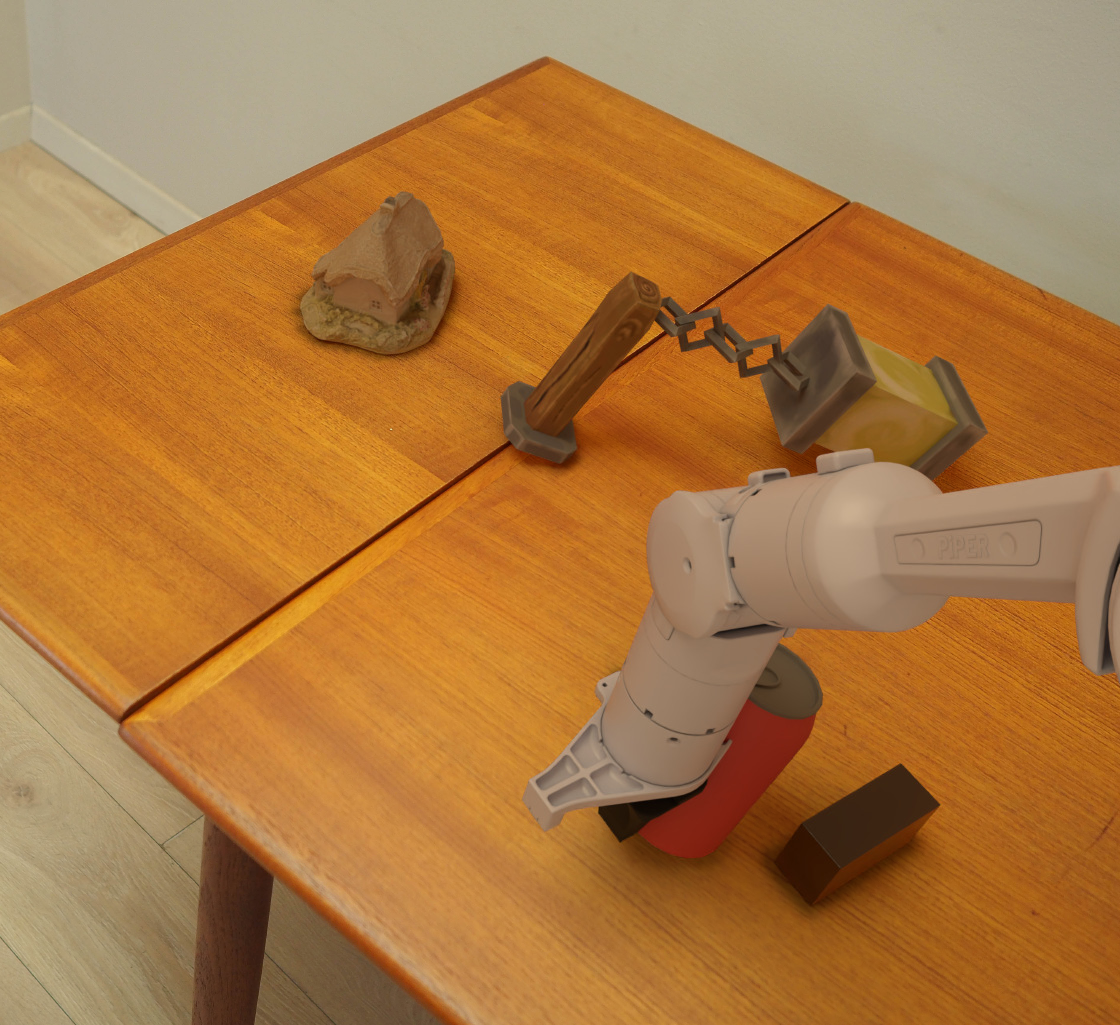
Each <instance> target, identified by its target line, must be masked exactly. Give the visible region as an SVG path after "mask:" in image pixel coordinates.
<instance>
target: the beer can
mask: <svg viewBox="0 0 1120 1025" xmlns="http://www.w3.org/2000/svg"><path fill="white" fill-rule="evenodd" d="M823 700H824V693H823V690H822V687H821V684H820V681H819V679H818V677H817V676H816V674H815V673H814V672H813V670H812V668H811V667H810V665H808V664H807V663H806V662H805V661H804V660H803V659H802V657H800V656H799V655H798V654H797V653H795V652H794V651H792V650H791V649H790V648H788V647H787V646H786V645H784V644H782V643H780V642H779V643H778V645H777V647H776V649H775V650H774V652H773V654H772V656H771V658H770V659H769V661H768V663H767V665H766V667H765V669H764V670H763V672H762V674H761V676H760V677H759V679H758V681H757V683H756V684H755V686H754V688H753V690H752V692H751V693H750V695H749V697H748V699H747V700H746V702H745V704H744V706H743V708H742V709H741V711H740V713H739V715H738V717H737V718H736V720H735V722H734V724H733V726H732V727H731V729H730V731H729V732H728V734H727V736H726V738H725V740H724V741H723V743H726V742H728V740H729V739H731V740H732V744H731V745H730V747H729V749H728V750H727V752H726V753H725V754H724V756H723V757H722V759H721V760H720V761H719V763H718V764H717V766H716V767H715V768H714V770H713V771H712V773H711V774H710V775H709V777H708V782H707V785H706V787H705V788H704V790H703V792H702V793H700V794H698V795H697V796H695V797H693V798H691V799H690V800H688V801H686V802H684V803H682V804H681V805H679V806H677V807H675V808H674V809H672V810H670V811H668V812H666V813H665V814H663V815H661V816H659V817H657V818H655V819H653V820H651V821H649V822H648V823H647V824H646V825H645V826H644V827H643V828H642V829H641V830H639V831H638V832H637V833H636V834H637V835H638V836H640V837H641V838H642V839H643V840H645V841H646V842H647V843H648V844H650V846H652V847H654V848H656V849H657V850H660V851H661V852H663V853H665V854H667V855H669V856H670V855H671V856H673V857H679V858H682V859H700V858H701V859H702V858H704V857H706V856H708V855H711V854H712V853H714V852H716V851H717V850H718V848H719V847H720V846H721V845H722V843H723V842H725V840H726V839H727V838H728V836H729V835H730V834H731V833H732V832H733V830H734V829H735V828H736V827H737V826H738V824H739V823H740V822H741V821H743V820H742V819H744V817H745V816H746V815H747V814H748V813H749V811H750V810H751V809H752V808H753V807H754V806H755V804H756V803H757V802H758V801H759V800H760V798H761V797H762V796H763V794H764V793H765V792H766V791H767V790H768V789H769V788H770V787H771V785H772V784H773V783H774V781H775V780H776V779H777V778H778V777H779V776H780V774H781V773H782V772H783V771H784V770H785V768H786V767H787V766H788V765H789V764H790V763H791V761H792V760H793V759H794V758H795V756H796V755H797V754H798V753H799V752H800V750H801V749H802V748H803V747H804V745H805V744H806V743H807V741H808V739H809V738H810V736H811V733H812V732H813V729H814V726H815V721H816V717H817V713H818V712H819V710H820V709H821V708H822V706H823V702H824V701H823Z"/></svg>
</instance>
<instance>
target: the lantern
mask: <svg viewBox="0 0 1120 1025" xmlns="http://www.w3.org/2000/svg"><path fill="white" fill-rule="evenodd" d="M661 308H664V309H665V310H666V311H667V312H668V313H669V314H670V315H671V316H672V317H673V319H674V322H673V320H672V319H671V318H670V317H668V316H667V315H666V314H665V312H664V311H663V310H662V309H661ZM708 318H711V319H712V325H713V327H711V328H708V329H706V330H704V331H703V338H701V339H698V340H694V341H690V342H689V339H688V338H689V337H688V332H690V331H693V330H695V329H697V324H696V322H697V321H702V320H704V319H708ZM654 322H655V323H656V324H657V325H658V326H659V327H660V328H661V329H662V330H663V331H664V332H665V333H666V334H667V335H668V336H669V338H676V337H677V338H678V344H679V349H680V352H681V353H687V352H690V351H691V352H692V351H695V350H699V349H703V348H707V347H711V346H712V347H713V348H714V349H715V350H716V351H717V352H718V353H719V355H721V356H722V357H723V358H724V359H725V360H726V361H727V362H728V363H729V364H735V363H736V364H737V370H738V374H739V375H738V377H739V379H744V378H749V377H753V376H758V375H759V381H760V384H761V386H762V389H763V392H764V395H765V398H766V401H767V404H768V407H769V410H770V413H771V417H772V419H773V424H774V425H775V430H776V431H777V434H778V437H779V441H780V443H781V446H782V448H785V449H788V450H791V452H795V453H798V454H800V455H803V454H804V453H805V452H807V451H808V449H810V447H811V446H813V445H814V444H816V445H818V446H821V447H822V448H825V449H828V450H830V451H833V453H834V452H840V451H848V450H856V449H864V448H869V449H871V450H872V451H873V455H874V461H875V462H891V463H897V464H901V465H905V466H908V467H910V468H912V469H914V470H916V471H918V472H920V473H922V474H923V475H925V476H926V477H927V478H929V479H930V480H931V481H932V482H933V481H934V480H935V479H937V477H939V476H940V475H941V474H942V473H943V472H945V471H946V470H947V469H948V468H949V467H951V466H952V465H953V464H954V463H955V462H956V461H957V460H959V459H960V458H961V457H962V456H963V455H965V453H967V452H968V451H969V450H970V449H972V448H973V447H974V446H975V445H976V444H977V443H979V442H980V441H981V440H982V439H983V438H984V437H985V436H987V435H988V434H989V431H988V429H987V427H986V424H985V423H984V421H983V419H982V416H981V415H980V413H979V411H978V410H977V408H976V407H977V406H976V405H975V403H974V402H973V400H972V398H971V396H970V394H969V392H968V390H967V388H966V386H965V384H964V382H963V380H962V378H961V376H960V374H959V373H958V370H957V368H956V366H955V365H954V363H953V362H951V361H949V360H947V359H944V358H942V357H940V356H938V355H936V354H935V355H934V356H933V357H932V358H930V359H929V361H927V363H925V364H924V365H923V364H921V363H919V362H917V361H915V360H912V359H911V358H908V357H906V356H903V355H902V354H899V353H897V352H895V351H893V350H891V349H889V348H887V347H885V346H882V345H881V344H879V343H876V342H874V341H872V340H871V339H868V338H866V337H864V336H861V335H859V334H858V333H857V332H856V329H855V328H854V325H853V323H852V321H851V318H850V316H849V314H848V312H846V311H845V310H842V309H840V308H838V307H837V306H834V305H832V304H830V303H827V304H826V305H825V306H823V307H822V309H821V310H820V311H819V312H818V313H817V315H816V316H815V317H813V319H812V320H811V321H810V322H809V323H808V324H807V325H806V327H805V328H803V330H801V331H800V333H799V334H798V335H797V336H796V337H794V339H793V340H792V341H791V342H790V343H789V345H788V346H787V347H785V349H784V350H782V342H781V334H780V333H779V334H773V335H768V336H765V337H761V338H756V339H752V340H748V341H747V339H745V338H744V337H743V336H742V335H741V334H740V333H739V332H738V331H737V330H736V329H735V328H734V327H733V326H732V325H731V324H730V323H728V322H723V317H722V311H721V307H720V306H716V307H712V308H707V309H703V310H700V311H696V312H692V313H691V312H690V313H687V312H686V310H684V309H683V308H682V307H681V306H680V304H678V303H677V301H676V300H674V299H673V298H672V297H671V296H665V297H662V295H661V292H660V288H659V285H658V283H655V282H654V281H652V280H650V279H649V278H646V277H643V275H642V276H641V275H639V274H637V273H635V272H633V271H629V272H628V273H627V274H626V275H625V276H624V277H622V278H621V280H619V281H618V282H617V283H616V284H615V285H614V286H613V287H612V288H611V289H610V290H609V291H608V292H607V294H606V295H605V297H604V298H603V299H602V301H601V302H600V303H599V304H598V307H597V308H596V309H595V311H594V312H593V313H592V315H591V316H590V318H589V319H588V321H587V322H586V323H585V324H584V325H583V327H582V328H581V329H580V330H579V332H578V333H577V334H576V336H575V337H574V338H573V339H572V341H571V342H570V343H569V345H567V347H566V348H565V350H564V351H563V352H562V353H561V355H560V356H559V357H558V359H557V360H556V361H555V362H554V364H552V366H551V367H550V368H549V370H548V371H547V373H546V374H545V375H544V376H543V377H542V379H541V380H540V381H539V383H538V384H537V386H534V385H531V384H528V383H525V382H522V381H520V380H518V381H516V382H513V383H512V384H510V385H508V386H507V387H506V388H505V390H504V391H503V393H502V394H501V395H500V405H501V416H502V426H503V427H502V429H503V435H504V436H505V437H506V439H507V440H508V441H509V442H510V443H511V444H512V445H513V447H514V448H515V449H516V450H518V451H521V452H524V453H526V454H530V455H532V456H535V457H538V458H541V459H544V460H547V461H550V462H553V463H556V464H560V465H561V464H563V463H565V462H566V461H567V460H569V459H570V458H571V457H572V456H573V454H574V453H576V451H577V450H578V445H577V439H576V432H575V427H574V421H573V419H574V418H575V417H576V415H578V413H579V412H580V411H581V410H582V409H583V407H584V406H585V405H586V404H587V403H588V402H589V400H590V399H591V398H592V397H593V396H594V394H595V393H596V392H598V390H599V388H600V387H601V386H602V385H603V384H604V382H606V380H607V379H608V378H610V376H611V374H613V372H614V371H615V369H616V368H618V366H619V365H620V364H621V363H622V362H623V360H624V359H625V358H626V357H627V356H628V354H630V352H632V350H633V349H634V348H635V347H636V345H638V343H639V342H640V341H641V340H642V339H643V338H644V337H645V335H647V333H648V332H649V331H650V330H651V328H652V326H653V324H654ZM726 339H727V340H728V341H729V342H730V343H731V344H732V345H733V347H734V349H735V350H734V349H733V348H732V346H730V345H729V344H728V343H727V342H726ZM770 345H771V349H772V357H770V358H768V359H766V363H764V364H761V365H756V366H751V367H748V362H747V358H748V357H750V356H752V355H754V349H758V348H762V347H766V346H770Z"/></svg>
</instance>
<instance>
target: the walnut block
mask: <svg viewBox="0 0 1120 1025" xmlns="http://www.w3.org/2000/svg"><path fill="white" fill-rule="evenodd" d="M940 807H941V803H940V802H939V801H938V800H937V799H936V798H935V797H934V796H933V795H932V794H931V793H930V791H928V790H927V788H926V787H925V786H924V785H923V784H922V783H921V782H920V781H919V780H918V779H917V778H916V777H915V776H914V774H912V773H911V771H909V769H908V768H907V767H905V765H904V764H903V763H901V762H900V763H898V764H897V765H895V766H894V767H891V768H890V769H889V770H886V771H885V772H883V773H882V774H880V775H878V776H877V777H875V778H873V779H872V780H870V781H869V782H866V783H865V784H864V785H862V786H860V787H858V788H857V789H855V790H854V791H851V792H850V793H849V794H847V795H845V796H844V797H841V798H840V799H839V800H837V801H835V802H833V803H832V804H830V805H829V806H826V807H825V808H824V809H822V810H820V811H818V812H817V813H815V814H813V815H812V816H810V817H808V818H807V819H806V820H803V821H802V822H801V823H800V824H799V825H798V827H797V828H796V830H795V831H794V833H793V834H792V836H790V838H789V840H788V841H787V842H786V844H785V845H784V847H783V848H782V850H781V851H780V852H779V854H778V855H777V856H776V858H775V860H774V864H775V865H776V866H777V868H778V869H779V870H780V871H781V872H782V874H783V875H784V876H785V877H786V879H787V880H788V881H789V883H791V885H792V886H793V887H794V888H795V890H796V891H797V892H798V893H799V894H800V896H801V897H802V898H803V899H804V900H805V902H806V903H807V904H808V905H809V906H810V907H812V906H814V905H815V904H817V903H819V902H820V901H822V900H823V899H824V898H826V897H827V896H829V895H830V894H832V893H834V892H835V891H838V889H840V888H841V887H843V886H845V885H846V884H848V883H849V882H851V881H852V880H854V879H856V878H857V877H859V876H860V875H861V874H863V873H865V872H866V871H867V870H870V869H871V868H873V867H874V866H875V865H877V864H878V863H880V862H881V861H883V860H885V859H886V858H888V857H889V856H891V855H892V854H894V853H896V852H897V851H899V850H901V849H902V848H904V847H905V846H906V845H908V844H909V843H910V842H911V840H912V839H913V838H914V837H915V836H916V834H918V832H919V831H920V830H921V829H922V828H923V826H924V825H925V824H926V823H927V822H928V820H930V818H931V817H932V816H933V815H934V814H935V813H936V812H937V810H938V809H939V808H940Z"/></svg>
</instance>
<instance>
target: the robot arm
mask: <svg viewBox="0 0 1120 1025" xmlns="http://www.w3.org/2000/svg"><path fill="white" fill-rule="evenodd" d="M815 464H816V470H817V472H813V473H807V474H802V475H796V476H791V473H790V471H789V469H788V468H785V467H777V468H770V469H763V470H758V471H757V470H756V471H753V472H751V473H750V474H749V475H748V476H747V485H741V486H732V487H726V488H725V487H724V488H718V489H710V490H709V489H708V490H702V491H696V492H693V491H689V490H676V491H674V492H673V493H671V495H670V496H668V497H666V498H664V499H662V500H661V501H659V503H658V504H657V505H656V506H655V508H654V510H653V511H652V514H651V515H650V520H649V522H648V527H647V533H646V549H645V550H646V564H647V571H648V576H649V582H650V585H651V589H652V593H651V596H650V598H649V600H648V603H647V605H646V608H645V611H644V613H643V616H642V618H641V620H640V623H639V626H638V628H637V630H636V632H635V635H634V638H633V640H632V641H631V642H632V643H631V645H630V647H629V650H628V652H627V654H626V657H625V660H624V661H623V664H622V667H621V669H620V670H617V671H615V672H612V673H611V674H609V675H607V676H604V677H602V678H600V679H599V680H598V681H597V682H596V685H595V688H594V694H595V696H596V698H597V699H598V701H599V702H600V703H601V706H599V708H597V710H596V711H595V712H594V714H592V716H591V717H590V718H589V719H588V721H586V723H585V724H584V726H583V727H582V728H581V729H580V730H579V732H577V733H576V735H575V736H574V737H573V739H572V740H570V742H569V743H568V744H567V745H566V747H565V748H564V749H563V750H562V751H561V753H560V754H559V755H558V756H557V757H556V758H555V759H554V760H553V761H552V763H550V764H549V765H548V766H547V767H546V768H544V769H543V770H542V771H540V772H539V773H537V774H535V775H534V776H532V777H531V778H529V779H528V781H527V784H526V787H525V790H524V792H523V795H522V798H521V801H522V802H523V804H524V805H525V806H526V808H527V809H528V811H529V813H530V814H531V816H532V817H533V818H534V820H535V821H536V822H537V824H538V825H539V826H540V828H541V830H542V831H543V832H545V833H547V832H549V831H551V830H552V829H554V828H556V827H559V826H560V825H561V823H562V821H563V818H564V816H565V815H566V814H568V813H570V812H574V811H578V810H583V809H590V808H597V814H598V815H599V817H600V819H602V821H603V822H604V824H606V826H607V828H609V830H610V831H611V833H612V834H613V835H614V837H615V838H616V840H618V842H619V843H622V842H624V841H626V840H628V839H629V838H631V837H633V836H635V835H636V834H638V833H637V832H638V831H639V830H641V829H642V828H643V827H644V826H645V825H646V824H647V823H648V822H649V821H651V820H653V819H655V818H657V817H659V816H661V815H663V814H665V813H666V812H668V811H670V810H672V809H674V808H675V807H677V806H679V805H681V804H682V803H684V802H686V801H688V800H690V799H691V798H693V797H695V796H697V795H698V794H700V793H702V792H703V790H704V788H705V787H706V785H707V782H708V777H709V775H710V774H711V773H712V771H713V770H714V768H715V767H716V766H717V764H718V763H719V761H720V760H721V759H722V757H723V756H724V754H725V753H726V752H727V750H728V749H729V747H730V745H731V744H732V740H731V739H729V740H728V742H726V743H723V741H724V740H725V738H726V736H727V734H728V732H729V731H730V729H731V727H732V726H733V724H734V722H735V720H736V718H737V717H738V715H739V713H740V711H741V709H742V708H743V706H744V704H745V702H746V700H747V699H748V697H749V695H750V693H751V692H752V690H753V688H754V686H755V684H756V683H757V681H758V679H759V677H760V676H761V674H762V672H763V670H764V669H765V667H766V665H767V663H768V661H769V659H770V658H771V656H772V654H773V652H774V650H775V649H776V647H777V645H778V643H780V642H781V640H783V638H784V639H787V638H792V637H794V636H795V634H796V632H797V630H798V629H805V630H825V631H827V630H828V631H844V632H845V631H846V632H847V631H848V632H866V633H867V632H869V633H889V634H890V633H901V632H906V631H908V630H912V629H914V628H917V627H919V626H921V625H922V624H925V623H927V621H929V620H930V619H932V618H933V617H934V616H935V615H937V613H938V612H939V611H941V609H942V608H943V607H944V606H945V605H946V603H947V602H948V600H949V599H950V597H953V598H955V597H956V598H971V599H973V598H974V599H987V600H988V599H990V600H1006V601H1025V602H1042V603H1057V604H1074V621H1075V629H1076V639H1077V645H1078V650H1079V651H1078V652H1079V655H1080V660H1081V663H1082V665H1083V666H1084V667H1085V668H1086V669H1087V670H1088V671H1090V672H1091V673H1093V674H1094V675H1095V676H1098V677H1101V676H1105V675H1110V674H1116V678H1117V680H1118V683H1119V685H1120V464H1119V465H1111V466H1106V467H1098V468H1092V469H1085V470H1080V471H1073V472H1068V473H1061V474H1055V475H1049V476H1043V477H1037V478H1036V477H1035V478H1029V479H1024V480H1019V481H1012V482H1006V483H1000V484H994V485H988V486H981V487H975V488H970V489H962V490H956V491H950V492H944V493H943V491H942V490H941V488H940V487H938V485H937V484H935V482H933V481H931V480H930V479H929V478H927V477H926V476H925V475H923V474H922V473H920V472H918V471H916V470H914V469H912V468H910V467H908V466H905V465H901V464H897V463H891V462H875V461H874V455H873V451H872V450H871V449H869V448H864V449H856V450H848V451H840V452H834V451H833V452H829V453H824V454H819V455H818V456H816V459H815Z"/></svg>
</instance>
